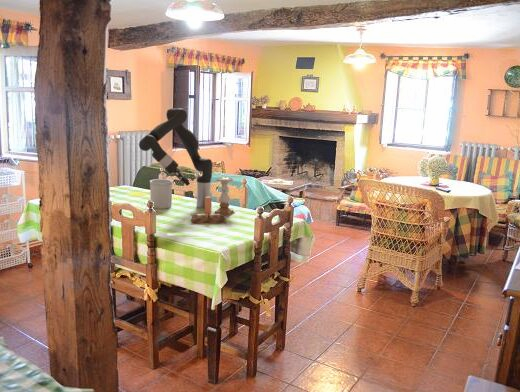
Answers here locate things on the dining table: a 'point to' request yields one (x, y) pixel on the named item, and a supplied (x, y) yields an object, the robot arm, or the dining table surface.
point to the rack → (207, 220)
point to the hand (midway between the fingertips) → (188, 183)
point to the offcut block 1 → (202, 215)
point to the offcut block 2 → (214, 215)
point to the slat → (208, 205)
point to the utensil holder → (161, 193)
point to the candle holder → (224, 198)
